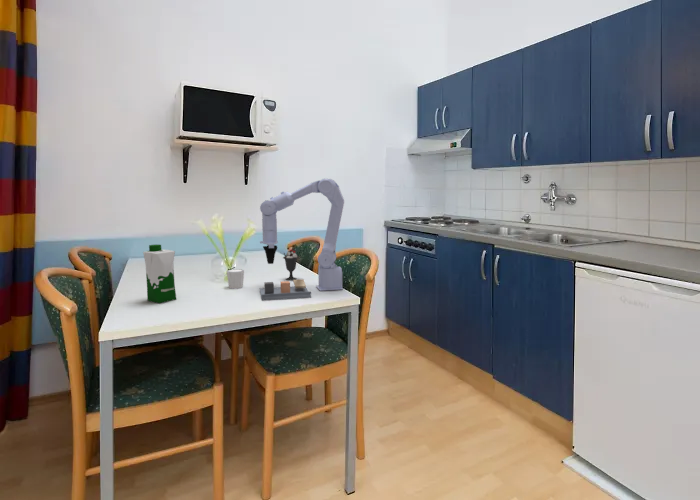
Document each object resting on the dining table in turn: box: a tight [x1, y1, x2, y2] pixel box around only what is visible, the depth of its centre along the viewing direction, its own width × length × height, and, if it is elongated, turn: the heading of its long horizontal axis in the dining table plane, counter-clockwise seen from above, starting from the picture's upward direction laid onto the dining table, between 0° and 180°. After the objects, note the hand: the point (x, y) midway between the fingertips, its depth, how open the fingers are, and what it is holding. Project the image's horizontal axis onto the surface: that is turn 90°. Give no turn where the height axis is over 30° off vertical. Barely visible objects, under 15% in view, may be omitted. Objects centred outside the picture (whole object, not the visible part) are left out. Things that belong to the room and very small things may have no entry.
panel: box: [259, 285, 312, 302], centre depth 166 cm, size 18×15×3 cm
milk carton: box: [142, 244, 177, 304], centre depth 156 cm, size 9×9×20 cm
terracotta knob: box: [280, 280, 291, 293], centre depth 162 cm, size 3×3×4 cm
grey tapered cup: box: [226, 268, 245, 290], centre depth 177 cm, size 7×7×7 cm
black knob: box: [263, 281, 275, 294], centre depth 160 cm, size 3×3×4 cm
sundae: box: [282, 245, 299, 281], centre depth 193 cm, size 7×7×15 cm
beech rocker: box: [292, 278, 307, 288], centre depth 168 cm, size 4×6×1 cm, turn 15°
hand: (270, 263), depth 176 cm, fingers closed
